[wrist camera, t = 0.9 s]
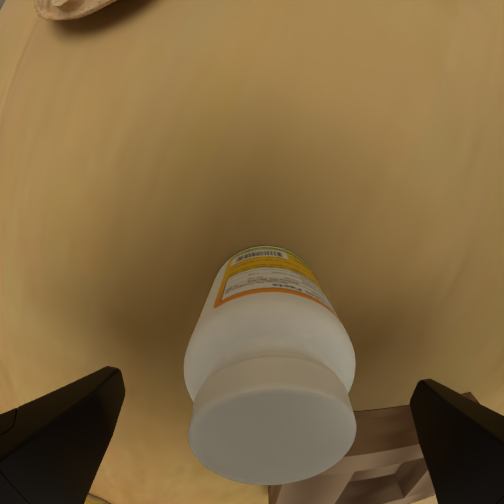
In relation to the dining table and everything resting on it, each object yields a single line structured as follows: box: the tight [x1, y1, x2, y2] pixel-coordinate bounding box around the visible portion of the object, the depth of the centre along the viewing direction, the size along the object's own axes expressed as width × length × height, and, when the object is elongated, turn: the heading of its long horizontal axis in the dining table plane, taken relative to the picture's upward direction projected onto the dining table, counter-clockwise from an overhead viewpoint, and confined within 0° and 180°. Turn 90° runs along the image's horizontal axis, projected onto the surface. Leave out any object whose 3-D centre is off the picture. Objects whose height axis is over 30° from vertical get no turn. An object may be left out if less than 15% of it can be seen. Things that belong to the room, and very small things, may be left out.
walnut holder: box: [268, 392, 480, 504], centre depth 16 cm, size 16×11×4 cm
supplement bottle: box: [184, 246, 356, 485], centre depth 10 cm, size 5×5×10 cm
